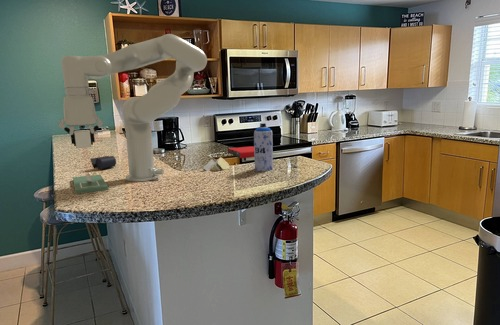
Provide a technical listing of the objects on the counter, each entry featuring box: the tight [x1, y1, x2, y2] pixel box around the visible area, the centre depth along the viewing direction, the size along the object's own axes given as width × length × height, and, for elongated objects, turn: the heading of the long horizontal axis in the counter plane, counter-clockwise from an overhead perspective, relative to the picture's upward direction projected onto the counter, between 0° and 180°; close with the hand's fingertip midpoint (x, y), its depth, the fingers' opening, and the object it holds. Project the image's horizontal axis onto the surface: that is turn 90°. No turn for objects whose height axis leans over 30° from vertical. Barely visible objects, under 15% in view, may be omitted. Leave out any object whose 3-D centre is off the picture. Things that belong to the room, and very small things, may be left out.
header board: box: [72, 174, 109, 195], centre depth 132 cm, size 24×10×1 cm, turn 28°
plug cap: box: [74, 129, 92, 149], centre depth 127 cm, size 8×5×6 cm, turn 25°
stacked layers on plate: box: [203, 157, 230, 172], centre depth 152 cm, size 10×9×6 cm
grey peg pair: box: [85, 173, 92, 185], centre depth 127 cm, size 4×1×4 cm, turn 28°
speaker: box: [89, 155, 117, 170], centre depth 164 cm, size 7×5×9 cm
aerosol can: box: [253, 123, 274, 172], centre depth 145 cm, size 8×8×20 cm
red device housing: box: [227, 145, 255, 159], centre depth 182 cm, size 18×14×5 cm
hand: (83, 144), depth 127 cm, fingers closed on plug cap, 4 cm apart
